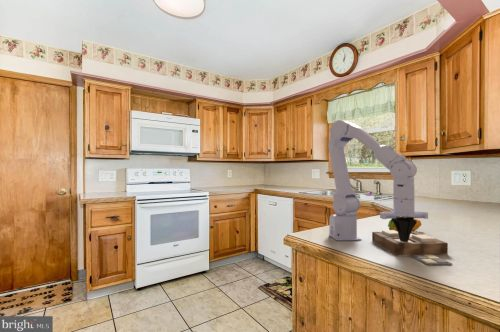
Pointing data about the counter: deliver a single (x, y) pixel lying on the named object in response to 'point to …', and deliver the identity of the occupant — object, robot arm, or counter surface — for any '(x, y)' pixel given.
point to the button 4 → (423, 238)
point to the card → (430, 260)
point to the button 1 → (390, 233)
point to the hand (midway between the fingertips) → (403, 241)
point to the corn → (393, 227)
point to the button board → (410, 245)
